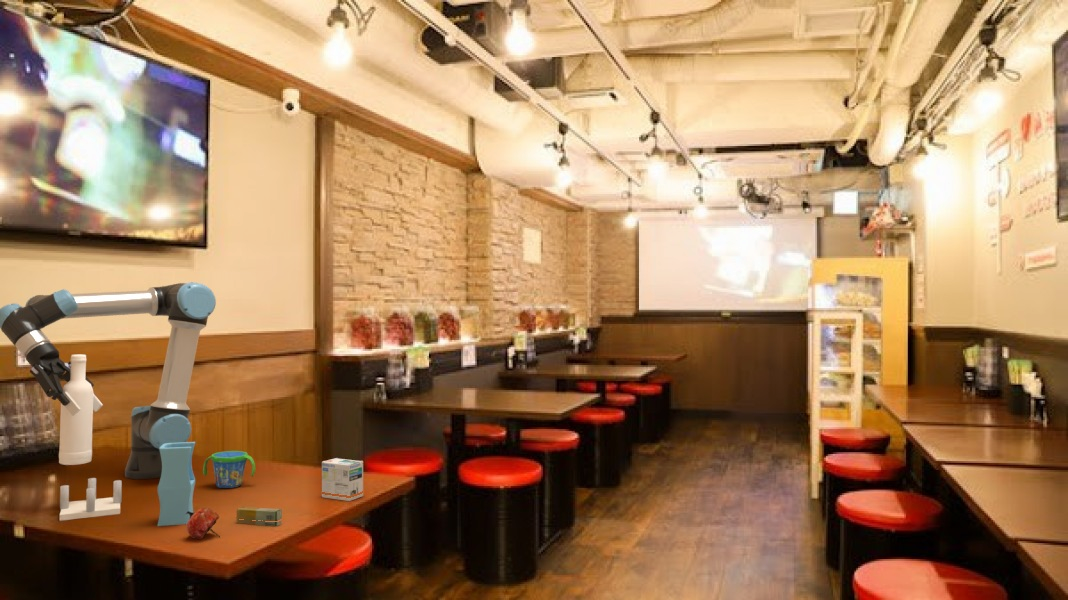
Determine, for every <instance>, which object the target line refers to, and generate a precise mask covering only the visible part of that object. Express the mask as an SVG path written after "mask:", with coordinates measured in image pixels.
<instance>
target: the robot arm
mask: <svg viewBox="0 0 1068 600" xmlns="http://www.w3.org/2000/svg"><path fill="white" fill-rule="evenodd" d="M216 302H217V300H216V296H215V294H214V292H213V290H212V289H211V288H209V287H208V285H206V284H203V283H199V282H192V281H191V282H179V283H174V284H169V285H162V286H154V287H149V288H148V289H147V290H131V291H129V290H128V291H110V292H109V291H108V292H106V291H105V292H91V293H90V292H89V293H87V292H86V293H70V292H69V290H67V289H65V288H63V289H61V290H56V291H54V292H53V293H51V294H37V295H35V296H32V297H30V298H29V299H28V300H27V301H26V304H25V306H21V305H20V304H19V303H17V302H16V303H14V302H13V303H11V304H6V305H3V306H2V307H0V330H1V332H2V333H3V334H4V335H5V337H6V338H7V339H8V340H9V341H10V342H11V343H12V344H13V346H14V347H15V348H16V349H17V350H18V351H19V353H20V354H21V355H22V357H24V358H25V360H26V361H27V363H28V364H29V365H30V366H31V368H30V370H29V372H30V374H31V375H32V376H33V377H34V379H36V382H37V383H38V384H39V386H40V387H41V389H42V390H43V392H44V393H45V395H46V397H48V398H51V399H52V400H53V401H56V400H58V401H59V402H60V404H61V403H62V405H64V406H65V407H66V409H67V410H68V411H69V412H70V413H71V415H72V416H75V415H76V414H77V413H78V412H79V411H80V410H81V408H80V407H79V406H78V405H77V403H76V402H75V401H74V400H73V399H72V397H71V396H70V395H69V394H68V393H67V392H64V393H63V387H62V384H61V381H62V380H63V381H65V382H66V383H68V382H69V381H70V377H71V361H68V362H64V361H63V360H62V359H61V358H60V352H59V350H58V349H57V347H56V346H55V345H54V344H53V343H52V342H51V339H50V338H48V337H47V336H46V334H45V333H44V332H43V331H42V329H44V328H45V327H47V326H49V325H52V324H54V323H56V322H58V321H59V320H62V319H76V318H77V319H78V318H92V317H94V318H95V317H109V316H127V315H128V316H129V315H140V314H142V315H143V314H145V315H146V314H149V315H150V316H152V317H156V316H163V317H167V322H168V323H169V324H170V326H171V330H170V333H169V339H168V343H167V344H168V345H167V349H166V353H165V360H164V364H163V368H162V369H163V370H162V374H161V379H160V384H159V389H158V395H157V399H156V400H155V401H153V402H152V403H151V404H150V405H145V406H136V407H133V408H132V410H131V415H130V420H131V421H130V422H131V428H130V433H131V434H130V435H131V436H130V437H131V438H130V439H131V441H130V455H129V458H128V461H127V463H126V467H125V468H124V477H125V478H127V479H131V480H147V479H158V478H161V473H162V460H161V454H160V450H159V448H160V447H161V446H162V445H163V444H165V443H180V442H188V440H189V439H190V437H191V434H192V424H191V422H190V420H189V416H190V411H191V408H190V407H189V405H188V404H187V400H188V394H189V390H190V384H191V379H192V375H193V370H194V365H195V360H196V359H195V358H196V354H197V349H198V342H199V338H200V333H201V331H202V330H203V329H205V328H206V327H207V323H208V318H209V316H211V315H212V314H213V312H214V310H215V309H216V304H217V303H216ZM60 380H61V381H60ZM85 380H87V381H88V382H89V383H90V384H91V386H92V388H93V387H94V386H95V385H94V383H93V382H92V381H91V380H90V379H89V378H88V377H87V376H85ZM103 406H104V404H103V403H102V402H101V401H100V399H99V398H98V397H97V395H96V394H95V393H94V394H93V412H95V413H96V412H98V411H99V410H100V409H101V408H102V407H103Z"/></svg>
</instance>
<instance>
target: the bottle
mask: <svg viewBox="0 0 1068 600" xmlns="http://www.w3.org/2000/svg"><path fill="white" fill-rule="evenodd" d="M87 360H88V359H87V354H71V356H70V361H71V377H70V381H69V382H66V383H65V384H64V385H63V387H62V389H63V393H64V392H67V393H68V394H69V395H70V396H71V397H72V399H73V400H74V401H75V402H76V403H77V405H78V406H79V407H80V408H81V410H80V411H79V412H78V413H77V414H76V415H75V416H72V415H71V413H70V412H69V411H68V410H67V409H66V407H65V406H64V405H62V403H61V402H60V415H59V416H60V420H59V422H60V423H59V424H60V426H59V427H60V428H59V451H58V463H59V464H60V465H65V466H69V465H70V466H71V465H72V466H75V465H82V464H83V465H84V464H87V463H90V462H92V458H93V422H94V421H93V417H94V410H93V394H95V393H94V389H93V387H92V386H91V384H90V383H89V382H88V381H87V380H85V376H86V371H87V370H86V369H87ZM70 361H69V362H70ZM86 377H87V376H86Z"/></svg>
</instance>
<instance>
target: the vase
mask: <svg viewBox="0 0 1068 600" xmlns="http://www.w3.org/2000/svg"><path fill="white" fill-rule="evenodd" d="M195 445H196V441H186V442H180V443H165V444H163V445H162V446H161V447H160V448H159V450H160V454H161V460H162V473H161V477H159V478H160V479H159V483H158V485H157V495H158V498H159V507H160V508H159V509H160V510H159V518H158V521H157V527H165V526H179V525H187V522H188V521H189V519H190V515H189V514H188V513H187V512H188V511H189V512H192V513H194V506H193V496H194V489H195V485H196V478H195V475H194V471H193V465H192V458H193V452H194V448H195ZM186 513H187V514H186Z"/></svg>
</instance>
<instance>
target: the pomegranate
mask: <svg viewBox="0 0 1068 600" xmlns="http://www.w3.org/2000/svg"><path fill="white" fill-rule="evenodd" d="M187 513H188V514H189V515H190V519H189V521H188V522H187V524H185V525H186V531H187V533H188V535H189V536H190V537H191V538H193V539H197V540H201V539H202V538H204V536H205V535H206V534H208V532H211V533H212V534H214V535H216V536H217V537H219V538H220V537H221V535H219V534H218V532H215V531H214V530H213V529H212V528H213V526H215V524H216V523H217V521H218V520H219V519H220V515H219V513H218V512H217V511H216V510H215V509H213V508H210V507H202V508H199V509H197V511H195V512H193V513H192V512H189V511H188V512H187ZM187 513H186V514H187Z"/></svg>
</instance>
